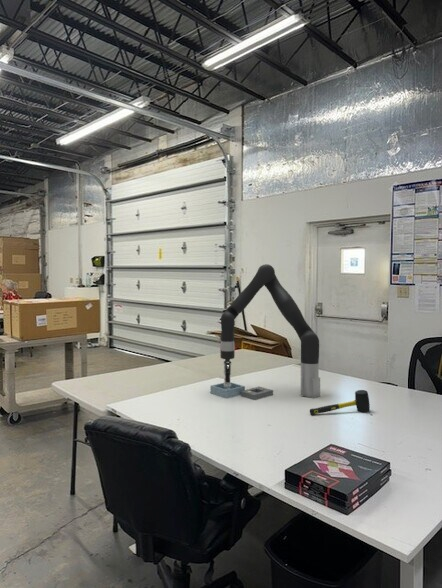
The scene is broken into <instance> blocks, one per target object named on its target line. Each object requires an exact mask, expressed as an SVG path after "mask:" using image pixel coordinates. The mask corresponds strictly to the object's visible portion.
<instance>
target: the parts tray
mask: <svg viewBox="0 0 442 588" xmlns="http://www.w3.org/2000/svg"><path fill="white" fill-rule="evenodd" d="M230 383H231V388H224V382H220V383H217V384H211V385H210V391H209V392H210V394H213V395H215V396H218V397H221V398H224V399H229V398H233V397H236V396H241V391H243V390H246V386H245V385H242V384H238V383H235V382H231V381H230Z"/></svg>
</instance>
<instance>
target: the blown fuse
mask: <svg viewBox="0 0 442 588" xmlns="http://www.w3.org/2000/svg"><path fill="white" fill-rule="evenodd" d="M226 373H229V371H227V372H226ZM231 375H232V370H231V371H230V376H231ZM223 377H224V379H223V383H224V388H231V383H232V382H231V381H230V382H231V383H230V382H229V383H226V381H225V371H224V370H223Z"/></svg>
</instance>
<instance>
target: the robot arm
mask: <svg viewBox="0 0 442 588" xmlns="http://www.w3.org/2000/svg"><path fill="white" fill-rule="evenodd" d="M263 287H265V288H266V290H267V291H268V292H269V294H270V295H271V298H272V299H273V302H274V303H275V305H276V307H277V309H278V310H279V312H280V313H281V315H282V316H283V317H284V319H285V321H287V323H289V325H290V326H291V327H292V328H293V330H294V331H295V333H296V334H297V337H298V338H299V340H300V396H302V397H304V398H313V399H314V398H317V397H320V396H321V377H320V376H319V375H320V373H319V372H320V371H319V368H320V367H319V366H320V365H319V364H320V363H319V362H320V361H319V360H320V359H319V358H320V339H319V336H318V335H317V333H316V332H315V331H314V330H313V329H312V328H311V327H310V325H309V324H308V322H307V321H306V320H305V317H304V316H303V314H302V312H301V310H300V308H299V306H298V304H297V303H296V301H295V300H294V299H293V297H292V296H291V294H290V293H289V292H288V291H287V290H286V289H285V288H284V287H283V285H282V284H281V283H280V281H279V279H278V277H277V275H276V273H275V269H274V267H273V266H272V265H270V264H267V263H266V264H262V265H260V266H259V268H258V270H257V271H256V274H255V275H254V277H252V280H251V281H250V282H249V283H248V284H247V286H246V287H245V288H244V289H243V290H242V291H241V292H240V293H239V294H238V296H236V298H235V299H234V300H233V301H232V303H230V305H229V306H228V307H227V308H226V309H225V311H224V312H223V313H222V314H221V317H220V326H221V327H220V328H221V329H220V330H221V332H220V359H221V360H224V361H223V369H224V370H223V372H224V371H225V381H226V383H229V382H231V375H230V371H231V372H232V370H231V369H232V361H231V360H233V359H235V358H236V357H235V356H236V355H235V354H236V353H235V331H234V329H235V319H237V318H238V316H239V314H241V313H242V312H243V311H244V310H245V309H246V308H247V306H249V304H250V303H251V301H252V300H253V299H254V298H255V296H256V295H257V293H258V292H259V291H260V290H261V289H262V288H263ZM227 371H229V373H226V372H227Z"/></svg>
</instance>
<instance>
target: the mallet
mask: <svg viewBox="0 0 442 588" xmlns="http://www.w3.org/2000/svg"><path fill="white" fill-rule="evenodd" d="M354 395H355V397H354V398H355V399H354V400H352V401H348V402H342V403H336V404H330V405H324V406H319V407H316V408H310V409H309V414H310V415H311V416H314V415H317V414H322V413H323V414H325V413H328V412H333V411H336V410H340V409H345V408H347V407H353V406H356V410H357V412H359V413H368V412H370V407H371V406H370V397H369V392H368V391H367V390H365V389H358V390H356V391H355V392H354Z"/></svg>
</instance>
